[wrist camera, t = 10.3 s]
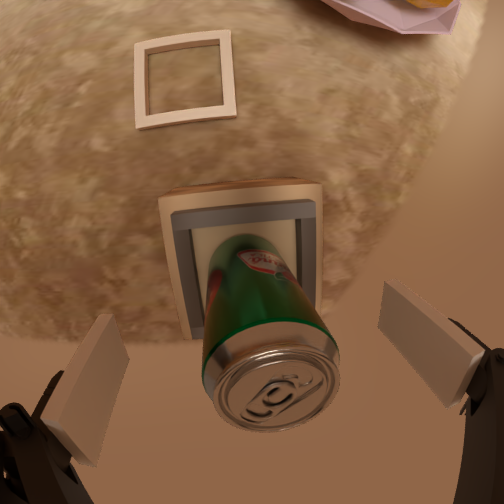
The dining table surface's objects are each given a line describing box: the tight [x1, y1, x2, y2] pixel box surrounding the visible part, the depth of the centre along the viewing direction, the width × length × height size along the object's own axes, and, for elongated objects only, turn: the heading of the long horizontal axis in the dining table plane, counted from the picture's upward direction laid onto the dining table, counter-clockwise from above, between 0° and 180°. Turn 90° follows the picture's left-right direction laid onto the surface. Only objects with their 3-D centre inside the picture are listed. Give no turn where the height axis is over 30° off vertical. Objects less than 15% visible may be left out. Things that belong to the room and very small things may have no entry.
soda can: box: [202, 235, 340, 433], centre depth 14 cm, size 5×5×12 cm
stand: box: [158, 177, 323, 340], centre depth 23 cm, size 11×11×10 cm
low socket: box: [134, 30, 236, 130], centre depth 21 cm, size 9×9×2 cm
